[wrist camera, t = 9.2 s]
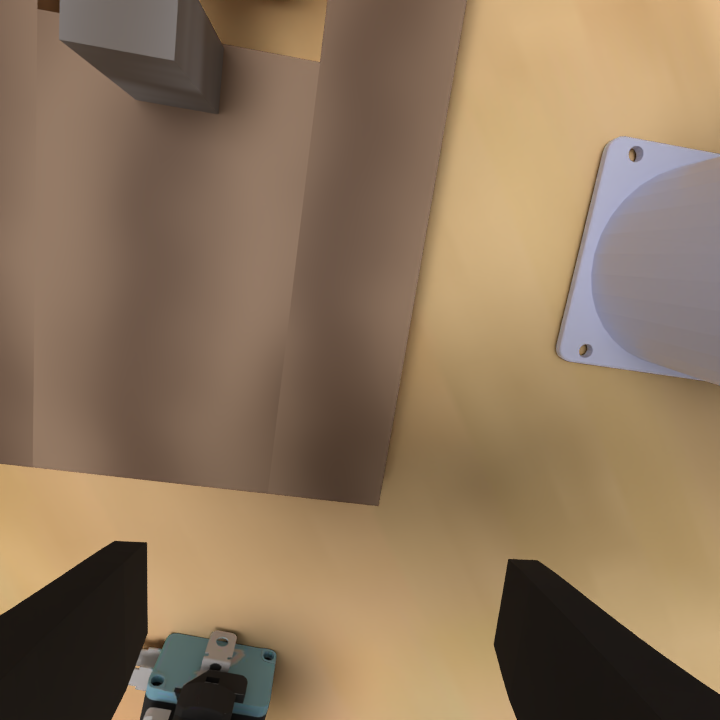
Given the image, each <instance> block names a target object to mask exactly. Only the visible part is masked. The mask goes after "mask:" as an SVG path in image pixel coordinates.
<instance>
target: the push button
mask: <svg viewBox="0 0 720 720" xmlns="http://www.w3.org/2000/svg"><path fill="white" fill-rule="evenodd" d="M221 638H223V639H226V640H227V641H228V642H223V641H217V640H218V639H221ZM236 640H237V636H236V635H235V634H234V633H229V632H224V631H218V630H216V631H214V632H212V633H211V636H210V639H206V638H201V637H195V636H189V635H184V634H178V633H173V634H171V635H169V636H168V637H167V639H166V641H165V643H164V645H163V648H162V649H159V648H153V647H149V649H148V650H147V649H142V650H141V653H140V655H139V658H138V661H137V663H136V665H137V666H140V668H135V669H134V671H133V674H132V676H131V679H130V681H129V684H128V685H132V686H136V688H135V689H137V690H143V691H146V693H145V698H144V703H143V708H142V713H141V717H140V720H265V717H266V714H267V710H268V706H269V703H270V698H271V691H272V684H273V677H274V670H275V664H276V653H275V652H274V651H273V650H270V649H266V648H256V647H251V646H245V645H240V644H236Z"/></svg>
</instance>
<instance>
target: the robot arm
mask: <svg viewBox="0 0 720 720" xmlns="http://www.w3.org/2000/svg"><path fill="white" fill-rule="evenodd" d="M630 149H633V150H635V152H636V159H635V161H634V162H633V161H631V160H630V159H629V151H630ZM584 344H586V345H587V351H586V353H585V354H583V355H580V354H579V349H580V347H581V346H582V345H584ZM556 352H557V354H558V356H559V357H560V358H562V359H564V360H566V361H569V362H575V363H582V364H589V365H596V366H603V367H610V368H617V369H624V370H632V371H639V372H646V373H653V374H660V375H667V376H674V377H681V378H688V379H695V380H702V381H707V382H710V383H713V384H716V385H719V386H720V154H717V153H712V152H707V151H701V150H696V149H690V148H685V147H680V146H674V145H669V144H663V143H658V142H653V141H647V140H642V139H636V138H631V137H626V136H624V137H618V138H615V139H613V140H611V141H609V142H608V144H607V145H606V146H605V148H604V150H603V154H602V158H601V162H600V166H599V170H598V174H597V179H596V183H595V187H594V191H593V195H592V199H591V204H590V208H589V212H588V216H587V220H586V224H585V228H584V233H583V237H582V241H581V245H580V249H579V253H578V257H577V262H576V266H575V270H574V274H573V278H572V282H571V287H570V291H569V295H568V299H567V303H566V307H565V311H564V316H563V320H562V324H561V328H560V332H559V336H558V340H557V345H556ZM147 634H148V615H147V543H146V542H124V541H114V542H112V543H111V544H109V545H107V546H106V547H104V548H102V549H101V550H99V551H98V552H96V553H95V554H93V555H92V556H90V557H89V558H87V559H86V560H84V561H83V562H81V563H80V564H78V565H77V566H75V567H74V568H72V569H71V570H69V571H68V572H66V573H65V574H63V575H62V576H60V577H59V578H57V579H56V580H54V581H53V582H51V583H50V584H48V585H47V586H45V587H44V588H42V589H40V590H39V591H37V592H36V593H34V594H33V595H31V596H30V597H28V598H27V599H25V600H24V601H22V602H21V603H19V604H18V605H16V606H15V607H13V608H11V609H10V610H8V611H7V612H5V613H3V614H2V615H0V720H111V719H112V717H113V715H114V713H115V711H116V709H117V707H118V705H119V703H120V701H121V699H122V697H123V695H124V693H125V691H126V689H127V686H128V684H129V681H130V679H131V676H132V674H133V671H134V669H135V666H136V663H137V661H138V658H139V655H140V653H141V650H142V647H143V644H144V642H145V639H146V636H147ZM494 647H495V651H496V655H497V659H498V662H499V666H500V670H501V674H502V677H503V680H504V684H505V687H506V691H507V694H508V697H509V700H510V703H511V706H512V708H513V711H514V713H515V716H516V718H517V720H720V694H718V693H717V692H715V691H714V690H712V689H711V688H709V687H708V686H706V685H705V684H703V683H702V682H700V681H699V680H697V679H696V678H695V677H693V676H692V675H690V674H689V673H687V672H686V671H685V670H683V669H682V668H680V667H679V666H678V665H676V664H675V663H673V662H672V661H670V660H669V659H668V658H666V657H665V656H663V655H662V654H660V653H659V652H658V651H656V650H655V649H654V648H652V647H651V646H650V645H648V644H647V643H646V642H644V641H643V640H641V639H640V638H639V637H637V636H636V635H635V634H633V633H632V632H631V631H629V630H628V629H627V628H626V627H624V626H623V625H622V624H620V623H619V622H618V621H616V620H615V619H614V618H612V617H611V616H610V615H609V614H607V613H606V612H605V611H603V610H602V609H601V608H600V607H598V606H597V605H596V604H595V603H593V602H592V601H591V600H589V599H588V598H587V597H586V596H584V595H583V594H582V593H580V592H579V591H578V590H577V589H575V588H574V587H573V586H572V585H570V584H569V583H568V582H566V581H565V580H564V579H562V578H561V577H560V576H559V575H557V574H556V573H555V572H553V571H552V570H551V569H549V568H548V567H546V566H545V565H543V564H542V563H541V562H539V561H538V560H517V559H508V565H507V570H506V576H505V582H504V588H503V594H502V600H501V605H500V611H499V617H498V623H497V629H496V634H495V640H494Z"/></svg>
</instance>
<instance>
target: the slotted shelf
mask: <svg viewBox="0 0 720 720" xmlns="http://www.w3.org/2000/svg"><path fill="white" fill-rule="evenodd" d="M466 2H467V0H328V1H327V10H326V18H325V26H324V34H323V43H322V51H321V59H320V62H316V61H311V60H305V59H300V58H295V57H289V56H284V55H279V54H274V53H268V52H263V51H258V50H252V49H247V48H242V47H236V46H231V45H226V44H222V43H221V42H220V40H219V38H218V36H217V34H216V32H215V30H214V28H213V27H212V25H211V23H210V21H209V19H208V17H207V15H206V13H205V12H204V10H203V8H202V6H201V4H200V2H199V0H0V464H8V465H17V466H26V467H35V468H44V469H53V470H61V471H70V472H79V473H88V474H97V475H106V476H115V477H124V478H133V479H142V480H151V481H160V482H168V483H177V484H186V485H195V486H204V487H213V488H222V489H231V490H240V491H249V492H258V493H267V494H275V495H284V496H293V497H302V498H311V499H320V500H329V501H338V502H347V503H356V504H365V505H374V506H379V500H380V494H381V489H382V483H383V477H384V471H385V466H386V460H387V454H388V449H389V443H390V437H391V431H392V426H393V420H394V414H395V409H396V403H397V397H398V391H399V386H400V380H401V374H402V368H403V363H404V357H405V351H406V346H407V340H408V334H409V328H410V323H411V317H412V311H413V306H414V300H415V294H416V288H417V283H418V277H419V271H420V265H421V260H422V254H423V248H424V243H425V237H426V231H427V225H428V220H429V214H430V208H431V203H432V197H433V191H434V185H435V180H436V174H437V168H438V163H439V157H440V151H441V145H442V140H443V134H444V128H445V122H446V117H447V111H448V105H449V100H450V94H451V88H452V82H453V77H454V71H455V65H456V60H457V54H458V48H459V42H460V37H461V31H462V25H463V19H464V14H465V8H466Z"/></svg>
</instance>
